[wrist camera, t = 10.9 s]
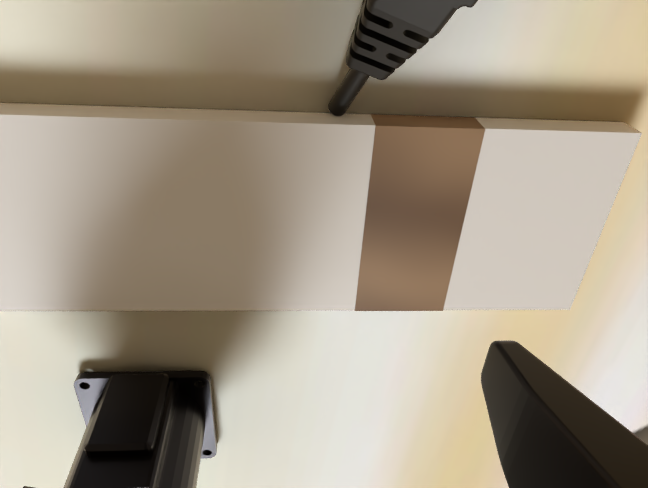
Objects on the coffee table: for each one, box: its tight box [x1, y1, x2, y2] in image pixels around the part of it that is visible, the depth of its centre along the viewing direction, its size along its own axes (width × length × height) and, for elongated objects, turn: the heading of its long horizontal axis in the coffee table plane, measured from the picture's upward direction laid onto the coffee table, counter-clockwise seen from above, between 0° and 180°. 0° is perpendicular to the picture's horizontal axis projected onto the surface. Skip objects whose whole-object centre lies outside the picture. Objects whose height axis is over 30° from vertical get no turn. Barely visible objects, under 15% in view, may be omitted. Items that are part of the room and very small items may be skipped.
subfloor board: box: [0, 103, 642, 311], centre depth 21 cm, size 8×28×1 cm, turn 87°
